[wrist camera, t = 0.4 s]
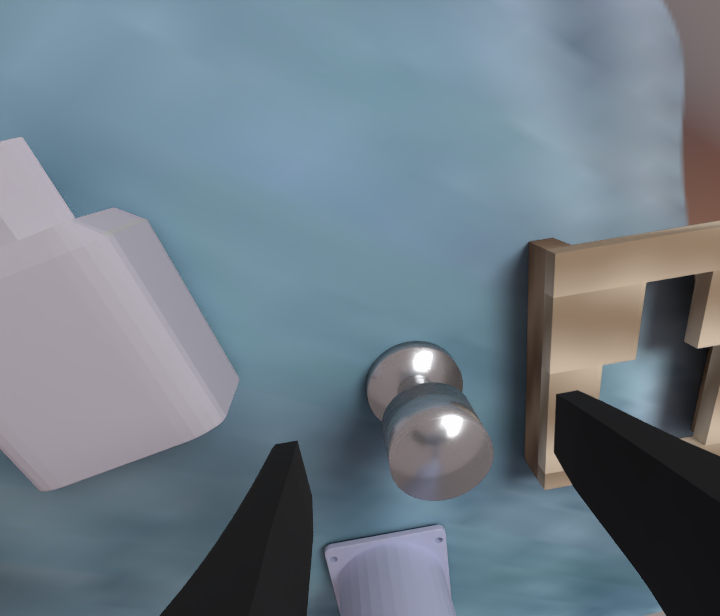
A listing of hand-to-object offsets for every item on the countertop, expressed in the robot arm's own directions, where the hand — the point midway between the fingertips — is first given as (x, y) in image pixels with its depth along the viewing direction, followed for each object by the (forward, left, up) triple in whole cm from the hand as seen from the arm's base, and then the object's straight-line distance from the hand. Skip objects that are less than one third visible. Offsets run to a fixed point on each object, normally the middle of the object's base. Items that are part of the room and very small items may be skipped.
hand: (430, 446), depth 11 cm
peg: (-5, -1, -10) cm, 11 cm away
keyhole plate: (-5, -14, -10) cm, 18 cm away
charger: (+4, +14, -11) cm, 18 cm away
